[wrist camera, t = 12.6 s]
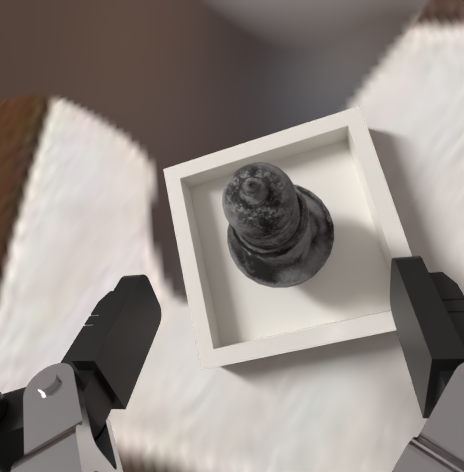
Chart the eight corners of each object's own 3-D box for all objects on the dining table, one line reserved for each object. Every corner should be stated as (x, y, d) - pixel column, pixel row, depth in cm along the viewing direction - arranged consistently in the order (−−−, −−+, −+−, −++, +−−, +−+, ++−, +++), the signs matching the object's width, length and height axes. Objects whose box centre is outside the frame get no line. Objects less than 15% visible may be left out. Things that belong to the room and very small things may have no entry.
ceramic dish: (356, 125, 24) (359, 105, 22) (422, 320, 21) (435, 322, 18) (177, 181, 26) (163, 169, 24) (213, 363, 23) (200, 370, 21)
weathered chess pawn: (323, 192, 23) (325, 80, 12) (340, 284, 22) (361, 259, 10) (235, 209, 24) (158, 122, 13) (246, 296, 23) (171, 286, 12)
